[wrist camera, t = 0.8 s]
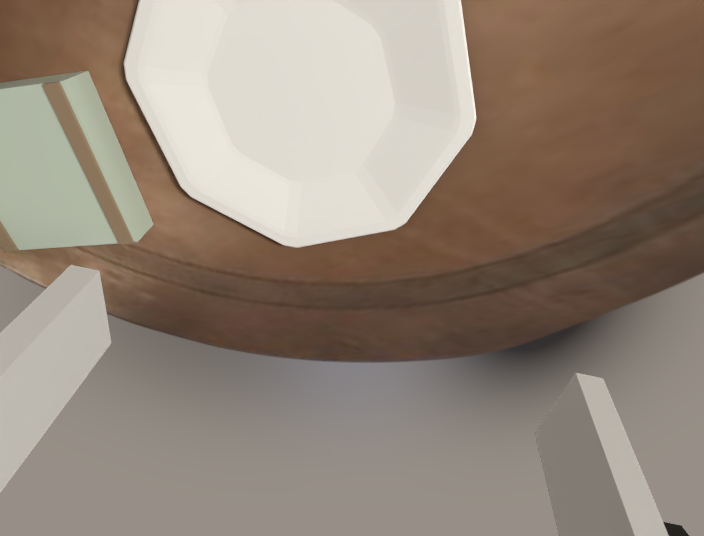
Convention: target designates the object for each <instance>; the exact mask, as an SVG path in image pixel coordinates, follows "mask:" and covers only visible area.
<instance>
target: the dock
mask: <svg viewBox="0 0 704 536" xmlns="http://www.w3.org/2000/svg"><path fill="white" fill-rule="evenodd" d="M152 226H153V222H152V219H151V217H150V215H149V212H148V210H147V208H146V205H145V203H144V200H143V198H142V196H141V193H140V191H139V189H138V186H137V184H136V182H135V179H134V177H133V175H132V172H131V170H130V168H129V165H128V163H127V161H126V158H125V156H124V154H123V151H122V149H121V146H120V144H119V142H118V139H117V137H116V135H115V132H114V130H113V128H112V125H111V123H110V121H109V118H108V116H107V114H106V111H105V109H104V107H103V104H102V102H101V100H100V97H99V95H98V92H97V90H96V88H95V85H94V83H93V81H92V78H91V76H90V74H89V71H82V72H74V73H67V74H60V75H53V76H45V77H38V78H31V79H24V80H16V81H9V82H2V83H0V246H1V248H2V249H3V251H4V253H8V252H17V251H18V250H27V249H42V248H57V247H71V246H86V245H101V244H115V243H119V245H127V244H133V243H134V242H138V241H139V240H140V239H141V238H142V237H143V235H144V234H145V233H146V232H147V231H148V230H149V229H150V228H151V227H152Z"/></svg>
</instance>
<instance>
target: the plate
mask: <svg viewBox="0 0 704 536" xmlns="http://www.w3.org/2000/svg"><path fill="white" fill-rule="evenodd" d="M123 64H124V70H125V77H126V81H127V83H128V85H129V87H130V89H131V91H132V93H133V95H134V97H135V99H136V101H137V102H138V104H139V106H140V108H141V110H142V112H143V114H144V116H145V118H146V120H147V122H148V124H149V126H150V128H151V130H152V132H153V134H154V136H155V138H156V140H157V142H158V144H159V145H160V147H161V149H162V151H163V153H164V155H165V157H166V159H167V161H168V163H169V165H170V167H171V169H172V171H173V173H174V175H175V177H176V179H177V181H178V183H179V185H180V187H181V188H182V189H183V190H184V191H185V192H186V193H187V194H188V195H189V196H190V197H192V198H194V199H196V200H198V201H200V202H201V203H203V204H205V205H207V206H209V207H211V208H213V209H215V210H217V211H219V212H221V213H223V214H224V215H226V216H228V217H230V218H232V219H234V220H236V221H238V222H240V223H242V224H244V225H246V226H247V227H249V228H251V229H253V230H255V231H257V232H259V233H261V234H263V235H265V236H267V237H269V238H270V239H272V240H274V241H276V242H278V243H280V244H282V245H284V246H290V247H296V248H298V247H303V246H309V245H314V244H319V243H325V242H330V241H336V240H341V239H347V238H352V237H358V236H363V235H368V234H374V233H379V232H385V231H390V230H395V229H396V228H398V227H400V226H401V225H403V224H405V223H406V222H407V221H408V219H409V218H410V217H411V215H412V214H413V213H414V211H415V210H416V209H417V207H418V206H419V205H420V203H421V202H422V200H423V199H424V198H425V196H426V195H427V194H428V192H429V191H430V190H431V188H432V187H433V186H434V184H435V183H436V182H437V180H438V179H439V178H440V176H441V175H442V174H443V172H444V171H445V170H446V168H447V167H448V166H449V164H450V163H451V162H452V160H453V159H454V158H455V156H456V155H457V154H458V152H459V151H460V150H461V148H462V147H463V146H464V144H465V143H466V141H467V140H468V139H469V137H470V136H471V135H472V133H473V129H474V125H475V122H476V110H475V103H474V95H473V88H472V80H471V73H470V65H469V58H468V50H467V43H466V35H465V28H464V20H463V13H462V5H461V0H139V2H138V6H137V10H136V14H135V18H134V22H133V26H132V31H131V35H130V39H129V43H128V47H127V51H126V55H125V59H124V63H123Z"/></svg>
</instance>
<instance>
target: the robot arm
mask: <svg viewBox="0 0 704 536" xmlns="http://www.w3.org/2000/svg"><path fill="white" fill-rule="evenodd" d="M110 344H111V337H110V331H109V326H108V319H107V313H106V307H105V301H104V295H103V289H102V284H101V278H100V272H99V271H98V270H93V269H88V268H84V267H79V266H74V265H70V266H69V267H68V268H67V269H66V270H65V271H64V272H63V273H62V274H61V275H60V276H59V277H58V278H57V279H56V280H55V281H54V282H53V283H52V284H51V285H50V286H49V287H48V288H46V289H45V291H43V292H42V294H40V295H39V296H38V297H37V298H36V299H35V300H34V301H33V302H32V303H31V304H30V305H29V306H28V307H27V308H26V309H25V310H24V311H23V312H22V313H21V314H20V315H18V317H16V318H15V319H14V320H13V321H12V322H11V323H10V324H9V325H8V326H7V327H6V328H5V329H4V330H3V331H2V332H1V333H0V492H1V491H2V490H3V488H4V487H5V486H6V484H7V483H8V482H9V480H10V479H11V477H12V476H13V475H14V473H15V472H16V471H17V469H18V468H19V466H20V465H21V464H22V463H23V461H24V460H25V459H26V457H27V456H28V455H29V453H30V452H31V450H32V449H33V448H34V447H35V445H36V444H37V442H38V441H39V440H40V438H41V437H42V436H43V434H44V433H45V432H46V430H47V429H48V428H49V426H50V425H51V424H52V422H53V421H54V420H55V418H56V417H57V416H58V414H59V413H60V411H61V410H62V409H63V407H64V406H65V405H66V403H67V402H68V401H69V399H70V398H71V397H72V395H73V394H74V393H75V391H76V390H77V389H78V387H79V386H80V385H81V383H82V382H83V381H84V379H85V378H86V376H87V375H88V374H89V372H90V371H91V370H92V368H93V367H94V366H95V364H96V363H97V362H98V360H99V359H100V358H101V356H102V355H103V353H104V352H105V351H106V350H107V348H108V347H109V345H110ZM535 436H536V441H537V445H538V449H539V453H540V458H541V462H542V466H543V470H544V474H545V479H546V483H547V487H548V492H549V496H550V500H551V504H552V508H553V513H554V517H555V521H556V525H557V529H558V534H559V536H689V535H688V534H687V533H686V531H685V530H684V529H683V528H682V526H680V525H675V524H670V523H665V522H663V521H662V519H661V516H660V514H659V511H658V509H657V506H656V504H655V502H654V500H653V497H652V494H651V492H650V490H649V488H648V485H647V483H646V480H645V478H644V476H643V473H642V471H641V468H640V466H639V464H638V461H637V459H636V456H635V454H634V452H633V449H632V447H631V444H630V442H629V439H628V437H627V435H626V432H625V430H624V428H623V425H622V423H621V420H620V418H619V416H618V413H617V411H616V409H615V406H614V404H613V401H612V399H611V396H610V394H609V392H608V389H607V387H606V385H605V382H604V380H603V378H598V377H593V376H589V375H584V374H579V373H575V375H574V376H573V377H572V379H571V380H570V382H569V383H568V385H567V386H566V388H565V389H564V391H563V392H562V393H561V395H560V396H559V398H558V399H557V401H556V402H555V404H554V405H553V406H552V408H551V409H550V411H549V412H548V414H547V415H546V416H545V418H544V419H543V421H542V422H541V424H540V425H539V427H538V428H537V429H536V431H535Z"/></svg>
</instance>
